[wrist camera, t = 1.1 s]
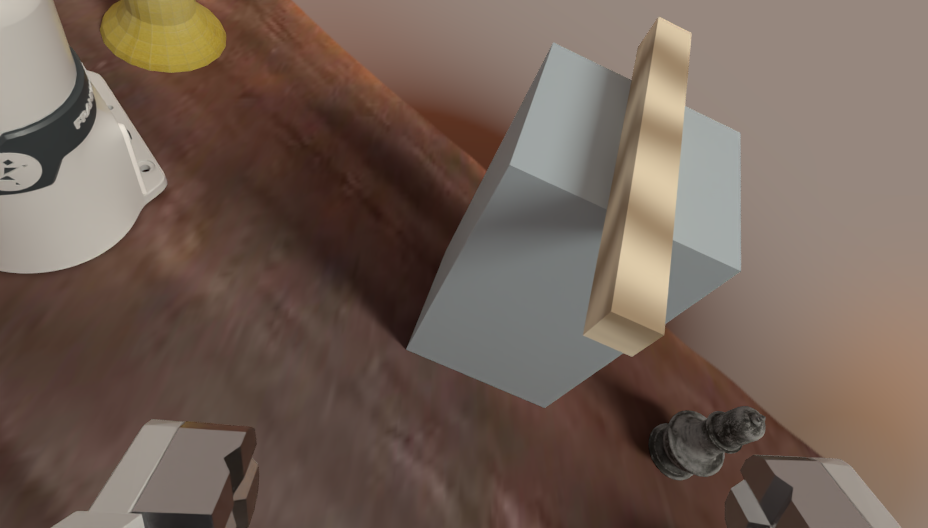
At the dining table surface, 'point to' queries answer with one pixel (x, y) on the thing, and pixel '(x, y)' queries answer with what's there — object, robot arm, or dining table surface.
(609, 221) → the birch rod
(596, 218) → the podium
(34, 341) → the dining table surface
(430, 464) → the dining table surface
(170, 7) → the handbell
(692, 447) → the miniature stone fountain
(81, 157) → the robot arm
